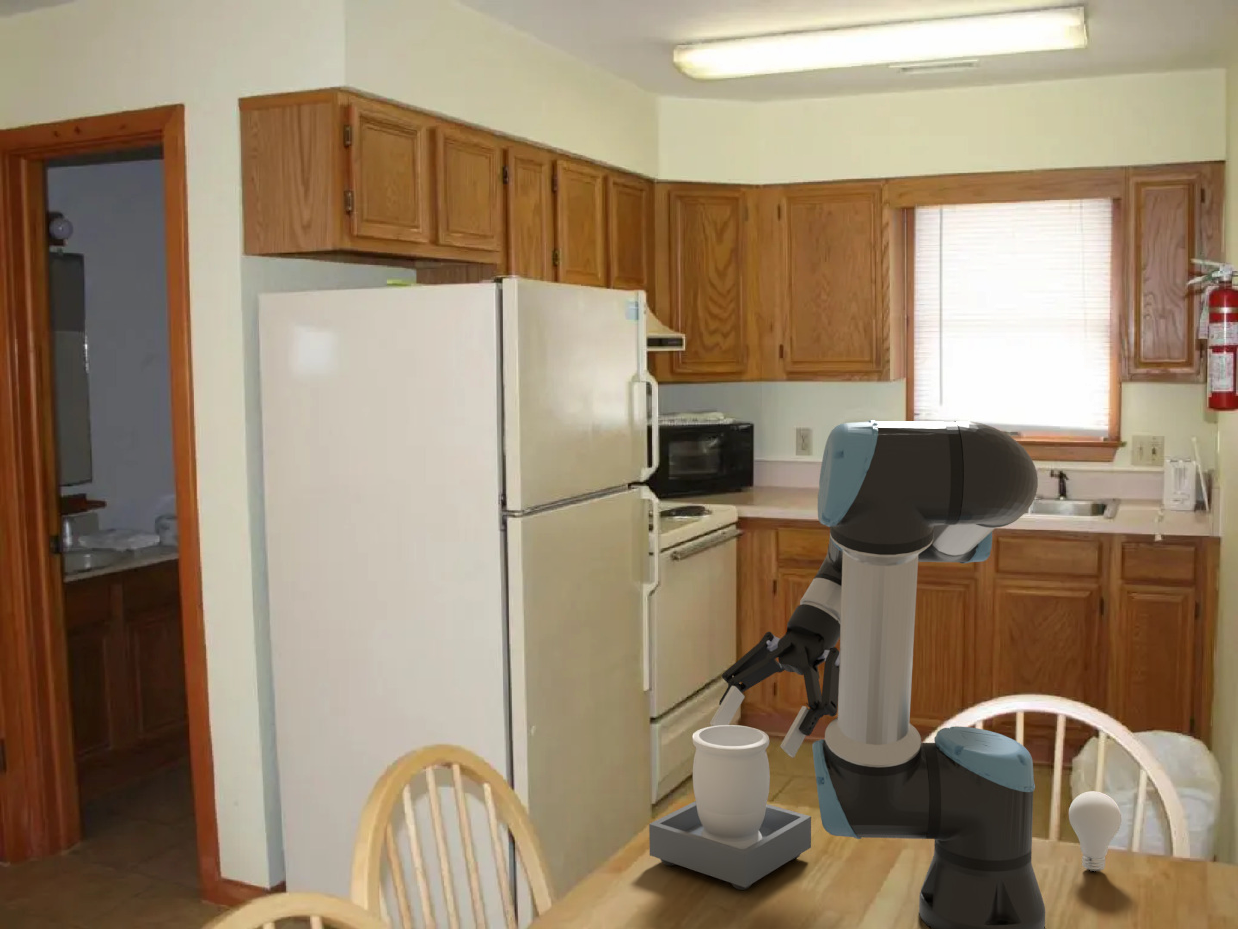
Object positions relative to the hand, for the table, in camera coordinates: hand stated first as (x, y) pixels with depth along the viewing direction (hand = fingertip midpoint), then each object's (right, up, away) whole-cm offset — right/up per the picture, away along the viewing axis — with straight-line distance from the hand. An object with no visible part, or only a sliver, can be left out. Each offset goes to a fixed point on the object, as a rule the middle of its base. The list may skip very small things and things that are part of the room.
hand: (750, 740), depth 176 cm
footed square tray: (-3, -17, -1) cm, 17 cm away
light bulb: (+46, -17, -6) cm, 49 cm away
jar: (-3, -14, -2) cm, 14 cm away
